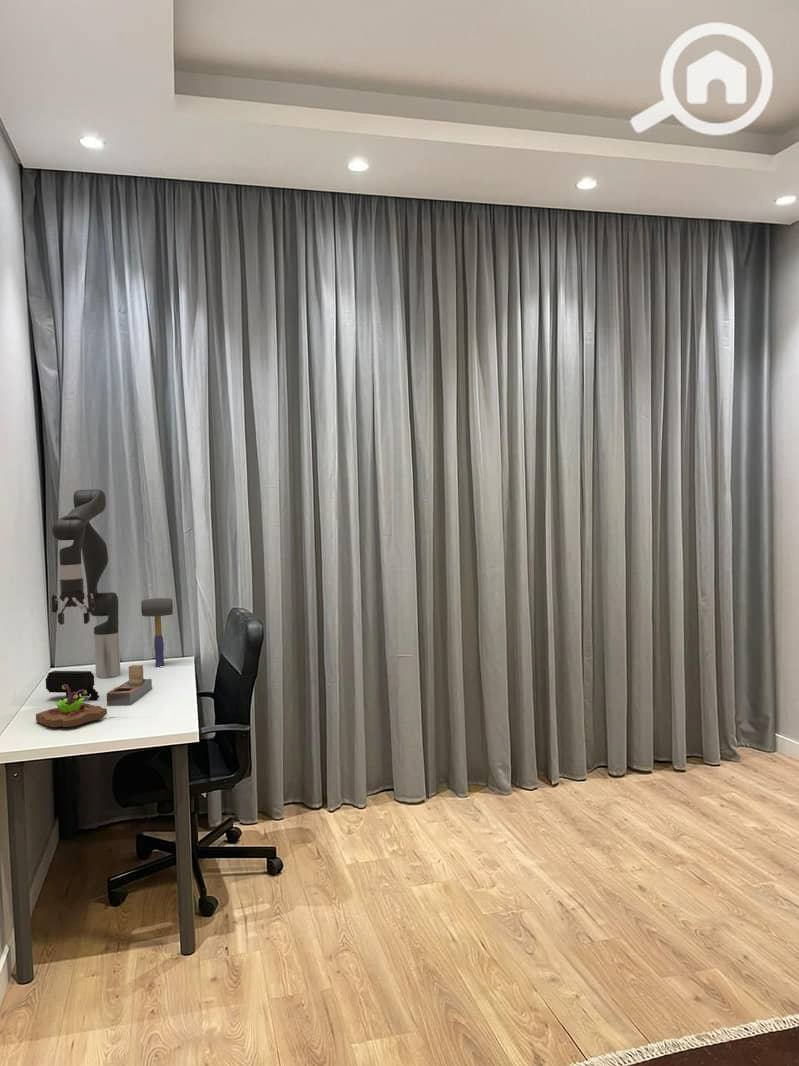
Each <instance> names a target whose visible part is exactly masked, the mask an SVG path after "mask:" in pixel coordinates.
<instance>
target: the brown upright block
mask: <svg viewBox="0 0 799 1066" xmlns="http://www.w3.org/2000/svg"><path fill="white" fill-rule="evenodd" d="M144 679H145V678H144V664H142V663H141V664H131V665H129V666H128V680H129V684H136V683H143V682H144Z"/></svg>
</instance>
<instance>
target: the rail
mask: <svg viewBox="0 0 799 1066" xmlns="http://www.w3.org/2000/svg"><path fill="white" fill-rule="evenodd" d="M152 682H153V680H152V678H144V682H143V683H136V684H129V679H128V680H127V681H125V682H124V683H121V685H119V686H116V687H114V688H112V689H111V690H109V691H107V692H106V706H108V707H109V706H131V705H132V704H134V703H135V702H137V701H138V700H139V699H141V698H142V697H144V696H145V695H146V694H148V692H150V691H151V690H153V683H152Z"/></svg>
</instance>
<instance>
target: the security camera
mask: <svg viewBox="0 0 799 1066" xmlns="http://www.w3.org/2000/svg"><path fill="white" fill-rule="evenodd" d="M64 684H66V685H68V686H69V689H70V691H71V694H72V693H73V692H77V691H79V690H82V689H83V690H86V691H87V694H83V693H82V691H81V692H79V693H78V694H77V695H78V698H77V699H75V701H78V700H79V699H81V697H89V698H87V701H88V702H95V701H96V700H98V699H99V698H100V695H99V693H98V692H99V691H96V690H97V689H95V688H94V686H95V674H94V673H93V672H92V670H53V671H50V672H48V673H47V675H46V678H45V690H46V691H47V692H48V693H54V694H55V693H63V694H65V698H67V699H68V697H67V696H68V691H67V688H66V689H62V686H63V685H64ZM74 695H75V694H74ZM74 695H73V696H74ZM80 696H81V697H80ZM65 698H64V699H65ZM64 699H63V700H64Z"/></svg>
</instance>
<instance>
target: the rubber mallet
mask: <svg viewBox="0 0 799 1066" xmlns="http://www.w3.org/2000/svg"><path fill="white" fill-rule="evenodd" d="M140 602H141V605H140V606H141V607H140V609H141V611H140V612H141V616H142V617H154V639H153V640H154V641H153V642H154V643H153V645H154V647H153V649H154V655H155V663H154V667H155V666H156V667H155V668H157V667H159V668H161V667H160V666H164V665H165V666H166V664H165V659H164V657H165V656H164V651H165V648H164V647H165V642H164V637H163V634H162V632H163V631H162V630H163V629H162V617H165V616H172V615H173V614H174V605H173V599H172V598H168V597H167V598H166V597H165V598H163V597H162V598H161V597H159V598H158V597H157V598H147V599H142V600H141V601H140ZM165 666H164V667H165Z"/></svg>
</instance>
